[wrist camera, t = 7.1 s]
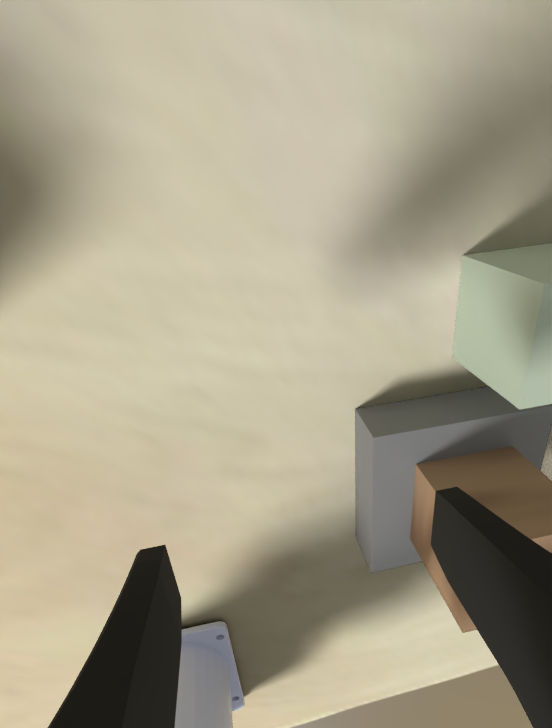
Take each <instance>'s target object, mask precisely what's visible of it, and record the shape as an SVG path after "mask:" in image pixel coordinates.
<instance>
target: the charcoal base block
mask: <svg viewBox="0 0 552 728" xmlns="http://www.w3.org/2000/svg"><path fill="white" fill-rule="evenodd" d="M551 425H552V404H548V405H543V406H537V407H531V408H526V409H520V410H519V409H518V408H517V407H516V406H514V405H513V404H512V403H510V402H509V401H508V400H506V399H505V398H504V397H503V396H501V395H500V394H499V393H497V392H496V391H495V390H493V389H492V388H491V387H490V386H488V387H482V388H476V389H470V390H464V391H458V392H452V393H446V394H440V395H435V396H429V397H423V398H417V399H411V400H405V401H399V402H393V403H387V404H381V405H375V406H369V407H363V408H357V409H355V483H356V539H357V541H358V543H359V546H360V548H361V550H362V553H363V555H364V557H365V560H366V562H367V565H368V567H369V569H370V572H371V573H372V572H377V571H382V570H386V569H391V568H396V567H400V566H405V565H410V564H414V563H419V562H423V561H422V559H421V558H420V556H419V554H418V552H417V550H416V549H415V547H414V545H413V543H412V542H411V540H410V532H411V519H412V506H413V494H414V481H415V468H416V464H419V463H425V462H430V461H436V460H441V459H446V458H452V457H457V456H463V455H468V454H473V453H479V452H484V451H489V450H495V449H500V448H506V447H511V446H513V447H514V448H515V449H517V450H518V451H519V452H520V453H521V454H522V455H523V456H524V457H525V458H526V459H528V460H529V461H530V462H531V463H532V464H533V465H534V466H535V467H536V468H537V469H539V470H541V466H542V461H543V457H544V453H545V449H546V445H547V441H548V437H549V433H550V429H551Z"/></svg>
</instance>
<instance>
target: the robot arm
mask: <svg viewBox="0 0 552 728" xmlns="http://www.w3.org/2000/svg"><path fill="white" fill-rule="evenodd" d="M431 547H432V549H433V551H434V553H435V555H436V558H437V560H438V562H439V564H440V566H441V568H442V570H443V572H444V574H445V576H446V578H447V581H448V583H449V584H450V586H451V588H452V589H453V591H454V593H455V594H456V596H457V597H458V599H459V601H460V602H461V604H462V606H463V607H464V609H465V611H466V612H467V614H468V615H469V617H470V619H471V620H472V622H473V623H474V625H475V627H476V628H477V630H478V631H479V633H480V635H481V636H482V638H483V639H484V641H485V643H486V644H487V646H488V648H489V649H490V651H491V652H492V654H493V656H494V657H495V659H496V660H497V662H498V664H499V665H500V667H501V668H502V670H503V672H504V674H505V675H506V677H507V679H508V680H509V682H510V684H511V686H512V687H513V689H514V691H515V693H516V695H517V697H518V699H519V701H520V703H521V704H522V706H523V708H524V710H525V712H526V714H527V716H528V718H529V720H530V722H531V724H532V726H533V727H534V728H552V553H551V552H549V551H547V550H546V549H544V548H543V547H541V546H540V545H538V544H537V543H536V542H534V541H533V540H531V539H530V538H528V537H527V536H525V535H524V534H522V533H521V532H520V531H518V530H517V529H515V528H514V527H512V526H511V525H510V524H508V523H507V522H505V521H504V520H503V519H501V518H500V517H499V516H497V515H496V514H494V513H493V512H492V511H490V510H489V509H487V508H486V507H485V506H483V505H482V504H481V503H479V502H478V501H476V500H475V499H474V498H472V497H471V496H470V495H468V494H467V493H465V492H464V491H463V490H461V489H460V488H458V487H452V488H447V489H442V490H437V491H436V493H435V504H434V514H433V524H432V534H431ZM244 704H245V703H244V696H243V692H242V688H241V683H240V679H239V675H238V671H237V667H236V662H235V658H234V654H233V650H232V645H231V641H230V637H229V633H228V628H227V625H226V623H224V622H222V621H218V622H213V623H209V624H204V625H200V626H195V627H191V628H186V629H182V622H181V596H180V593H179V590H178V586H177V583H176V580H175V576H174V573H173V570H172V566H171V563H170V560H169V556H168V553H167V550H166V546H165V545H162V546H157V547H152V548H147V549H142V550H140V551H139V552H138V553H137V555H136V558H135V560H134V563H133V565H132V567H131V570H130V572H129V575H128V577H127V579H126V582H125V584H124V586H123V588H122V591H121V593H120V595H119V597H118V599H117V601H116V604H115V606H114V608H113V610H112V612H111V614H110V616H109V618H108V620H107V622H106V624H105V626H104V628H103V630H102V632H101V634H100V636H99V638H98V640H97V642H96V644H95V646H94V648H93V650H92V652H91V653H90V655H89V657H88V659H87V661H86V663H85V664H84V666H83V668H82V670H81V672H80V673H79V675H78V677H77V679H76V681H75V683H74V684H73V686H72V688H71V690H70V691H69V693H68V695H67V697H66V698H65V700H64V702H63V703H62V705H61V707H60V708H59V710H58V712H57V713H56V715H55V717H54V718H53V720H52V722H51V723H50V725H49V727H48V728H233V723H232V711H235V710H239V709H241V708H243V707H244Z"/></svg>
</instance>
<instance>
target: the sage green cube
mask: <svg viewBox="0 0 552 728" xmlns="http://www.w3.org/2000/svg"><path fill="white" fill-rule="evenodd" d="M452 358H453V359H454V360H456V361H457V362H458V363H460V364H461V365H462V366H464V367H465V368H466V369H467V370H469V371H470V372H471V373H473V374H474V375H475V376H477V377H478V378H479V379H480V380H482V381H483V382H484V383H486V384H487V385H488V386H490V387H491V388H492V389H493V390H495V391H496V392H497V393H499V394H500V395H501V396H503V397H504V398H505V399H506V400H508V401H509V402H510V403H512V404H513V405H514V406H516V407H517V408H518V409H519V410H520V409H526V408H531V407H537V406H543V405H548V404H552V243H548V244H541V245H533V246H526V247H519V248H511V249H504V250H497V251H489V252H482V253H475V254H468V255H462V263H461V273H460V282H459V292H458V302H457V312H456V321H455V331H454V341H453V351H452Z"/></svg>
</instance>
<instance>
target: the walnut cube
mask: <svg viewBox="0 0 552 728" xmlns="http://www.w3.org/2000/svg"><path fill="white" fill-rule="evenodd" d="M452 487H458V488H460V489H461V490H463V491H464V492H465V493H467V494H468V495H470V496H471V497H472V498H474V499H475V500H476V501H478V502H479V503H481V504H482V505H483V506H485V507H486V508H487V509H489V510H490V511H492V512H493V513H494V514H496V515H497V516H499V517H500V518H501V519H503V520H504V521H505V522H507V523H508V524H510V525H511V526H512V527H514V528H515V529H517V530H518V531H520V532H521V533H522V534H524V535H525V536H527V537H528V538H530V539H531V540H533V541H534V542H536V543H537V544H538V545H540V546H541V547H543V548H544V549H546V550H547V551H549V552H551V553H552V481H551V480H550V479H549V478H547V477H546V476H545V475H544V474H543V473H542V472H541V471H540V470H539V469H537V468H536V467H535V466H534V465H533V464H532V463H531V462H530V461H529V460H528V459H526V458H525V457H524V456H523V455H522V454H521V453H520V452H519V451H518V450H517V449H515V448H514V447H513V446H511V447H506V448H500V449H495V450H489V451H484V452H479V453H473V454H468V455H463V456H457V457H452V458H446V459H441V460H436V461H430V462H425V463H419V464H416V468H415V481H414V494H413V506H412V519H411V532H410V540H411V542H412V543H413V545H414V547H415V549H416V550H417V552H418V554H419V556H420V558H421V559H422V561H423V563H424V565H425V567H426V568H427V570H428V572H429V574H430V575H431V577H432V579H433V581H434V583H435V584H436V586H437V588H438V590H439V592H440V593H441V595H442V597H443V599H444V600H445V602H446V604H447V606H448V608H449V609H450V611H451V613H452V615H453V616H454V618H455V620H456V622H457V624H458V625H459V627H460V629H461V631H462V633H465V632H469V631H473V630H477V628H476V627H475V625H474V623H473V622H472V620H471V619H470V617H469V615H468V614H467V612H466V611H465V609H464V607H463V606H462V604H461V602H460V601H459V599H458V597H457V596H456V594H455V593H454V591H453V589H452V588H451V586H450V584H449V583H448V581H447V578H446V576H445V574H444V572H443V570H442V568H441V566H440V564H439V562H438V560H437V558H436V555H435V553H434V551H433V549H432V547H431V534H432V524H433V514H434V504H435V493H436V491H437V490H442V489H447V488H452Z"/></svg>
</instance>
